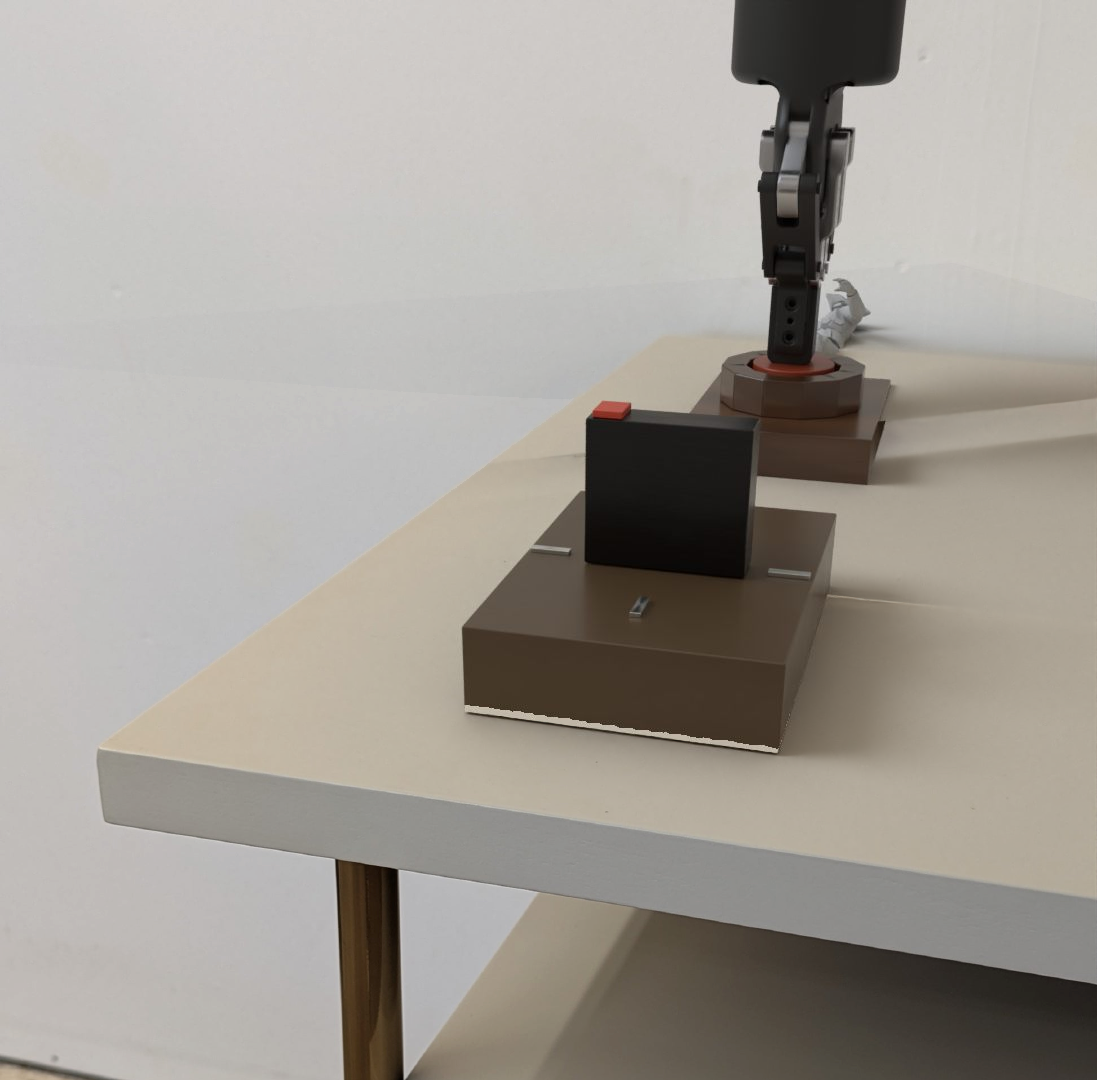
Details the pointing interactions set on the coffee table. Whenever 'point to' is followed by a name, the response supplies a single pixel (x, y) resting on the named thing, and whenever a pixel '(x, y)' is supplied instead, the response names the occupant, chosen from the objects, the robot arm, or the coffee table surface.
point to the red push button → (795, 367)
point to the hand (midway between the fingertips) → (790, 361)
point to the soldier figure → (840, 318)
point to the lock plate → (654, 634)
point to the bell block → (805, 417)
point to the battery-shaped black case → (670, 490)
